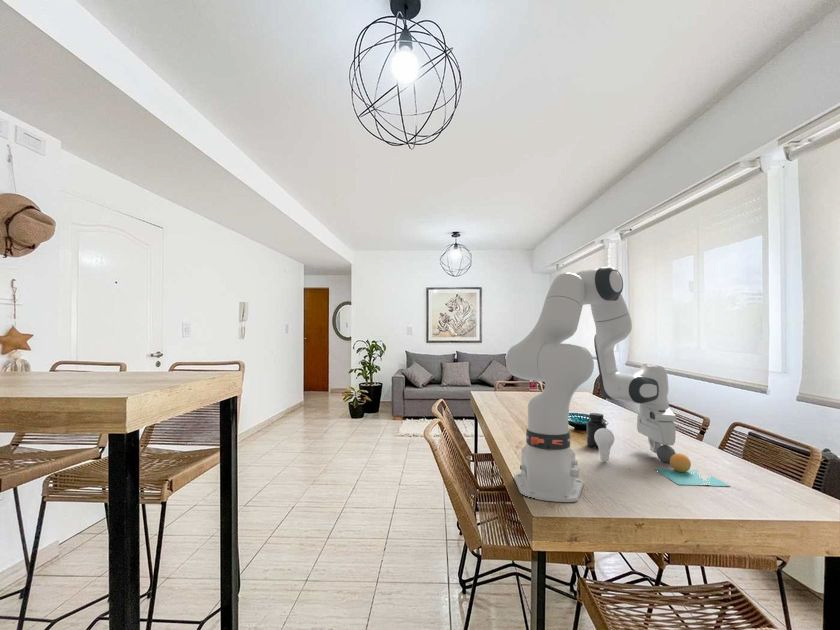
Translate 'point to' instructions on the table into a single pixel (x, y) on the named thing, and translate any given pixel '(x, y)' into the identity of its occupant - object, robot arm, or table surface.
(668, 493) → the table surface
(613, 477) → the table surface
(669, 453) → the charcoal ball
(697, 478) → the teal mark
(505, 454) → the table surface
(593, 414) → the supplement bottle
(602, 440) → the lightbulb
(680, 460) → the orange ball
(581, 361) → the robot arm
